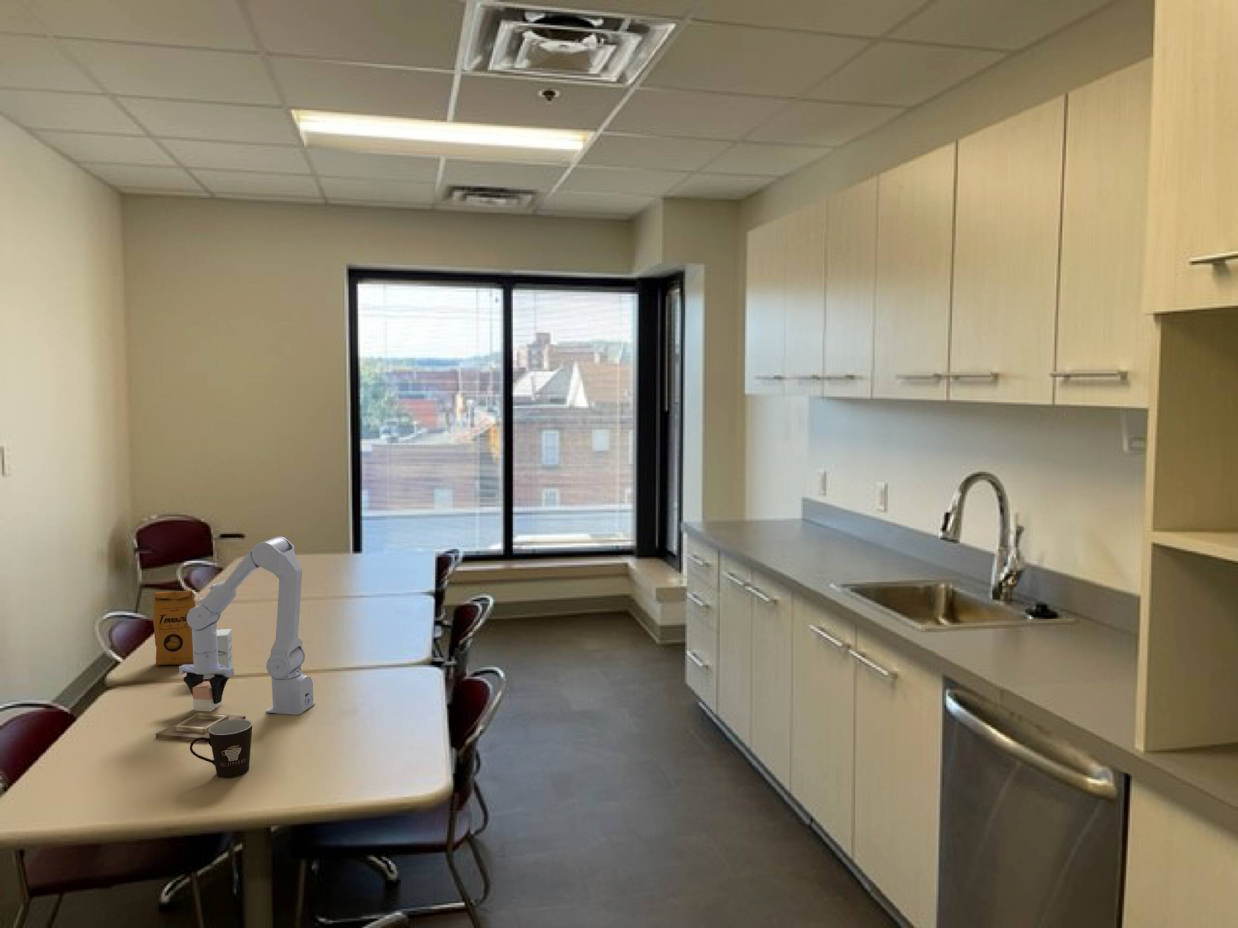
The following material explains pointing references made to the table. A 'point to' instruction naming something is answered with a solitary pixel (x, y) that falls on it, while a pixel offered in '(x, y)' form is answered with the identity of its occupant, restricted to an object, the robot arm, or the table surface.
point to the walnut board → (194, 726)
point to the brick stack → (204, 697)
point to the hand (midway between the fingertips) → (207, 701)
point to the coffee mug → (229, 747)
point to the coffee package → (173, 628)
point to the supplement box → (223, 649)
